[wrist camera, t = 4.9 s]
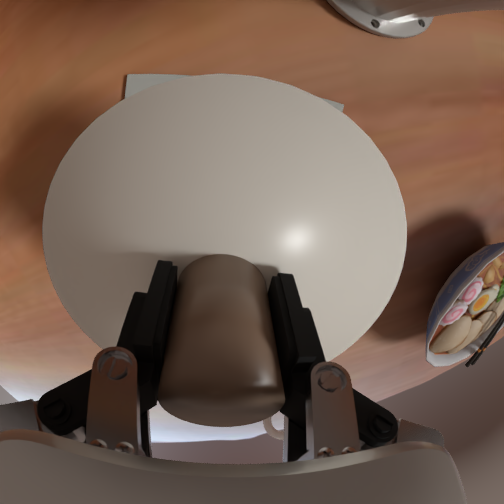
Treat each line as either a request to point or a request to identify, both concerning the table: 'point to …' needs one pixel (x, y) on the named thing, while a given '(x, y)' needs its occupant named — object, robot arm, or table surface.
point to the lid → (225, 231)
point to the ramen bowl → (467, 309)
